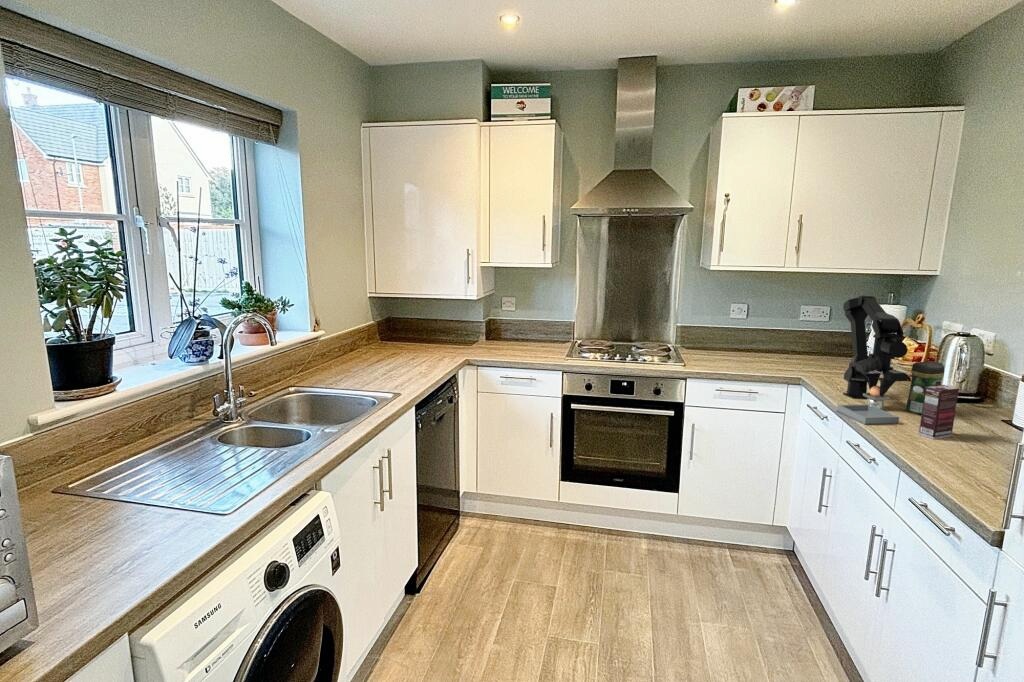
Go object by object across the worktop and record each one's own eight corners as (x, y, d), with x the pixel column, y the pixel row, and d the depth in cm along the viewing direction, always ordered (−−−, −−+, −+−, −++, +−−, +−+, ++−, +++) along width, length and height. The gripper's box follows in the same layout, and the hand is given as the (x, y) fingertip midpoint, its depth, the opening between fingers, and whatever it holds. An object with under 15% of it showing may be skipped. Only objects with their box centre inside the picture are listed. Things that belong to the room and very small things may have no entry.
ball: (866, 396, 200) (867, 384, 200) (877, 395, 201) (878, 384, 200) (874, 399, 196) (876, 387, 195) (886, 399, 196) (888, 387, 196)
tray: (836, 411, 195) (837, 405, 194) (867, 411, 196) (868, 404, 195) (864, 424, 181) (865, 417, 180) (898, 424, 182) (899, 417, 182)
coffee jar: (919, 407, 201) (927, 358, 197) (942, 414, 193) (950, 363, 190) (900, 409, 198) (908, 360, 194) (923, 416, 190) (931, 365, 187)
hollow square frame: (861, 405, 202) (863, 393, 201) (876, 405, 202) (877, 392, 201) (873, 410, 196) (874, 397, 195) (888, 410, 196) (890, 397, 196)
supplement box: (935, 431, 175) (943, 384, 172) (952, 437, 171) (960, 388, 168) (917, 434, 172) (924, 386, 169) (933, 440, 168) (941, 390, 165)
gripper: (843, 347, 204) (838, 387, 207) (881, 358, 185) (875, 402, 188) (871, 346, 205) (865, 387, 208) (911, 357, 186) (904, 401, 189)
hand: (876, 394), depth 198 cm, fingers closed on ball, 4 cm apart
